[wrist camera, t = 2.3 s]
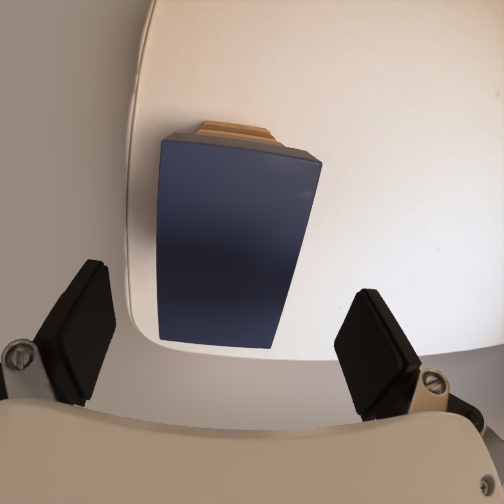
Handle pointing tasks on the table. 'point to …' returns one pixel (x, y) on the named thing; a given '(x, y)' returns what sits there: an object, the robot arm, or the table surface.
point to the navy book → (228, 237)
